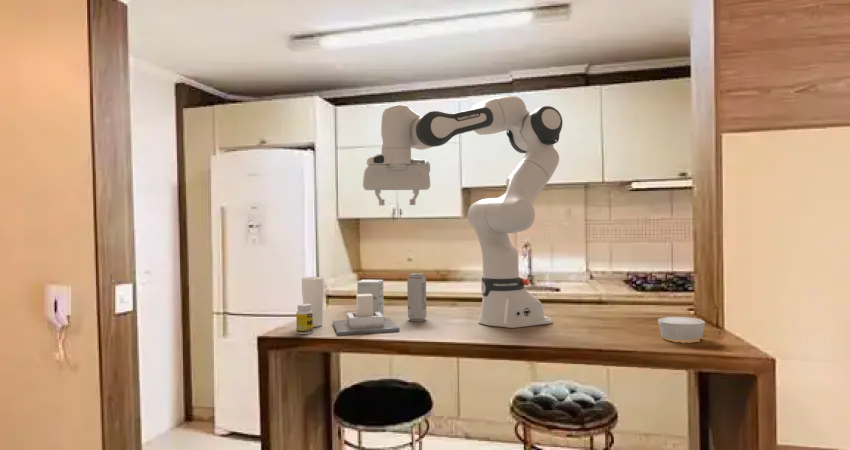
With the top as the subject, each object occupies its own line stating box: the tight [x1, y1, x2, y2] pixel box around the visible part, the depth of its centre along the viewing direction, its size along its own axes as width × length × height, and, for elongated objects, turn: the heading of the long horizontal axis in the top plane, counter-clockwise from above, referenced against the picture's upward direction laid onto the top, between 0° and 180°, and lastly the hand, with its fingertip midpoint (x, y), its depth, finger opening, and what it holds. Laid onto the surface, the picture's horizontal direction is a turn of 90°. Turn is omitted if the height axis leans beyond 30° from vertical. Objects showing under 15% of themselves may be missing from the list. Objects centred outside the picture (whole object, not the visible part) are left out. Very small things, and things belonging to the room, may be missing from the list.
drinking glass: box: [301, 276, 325, 328], centre depth 176 cm, size 7×7×15 cm
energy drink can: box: [406, 272, 427, 322], centre depth 183 cm, size 6×6×15 cm
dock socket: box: [332, 311, 401, 336], centre depth 172 cm, size 18×18×4 cm
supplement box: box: [356, 279, 384, 316], centre depth 188 cm, size 7×7×13 cm
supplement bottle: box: [295, 303, 314, 335], centre depth 166 cm, size 5×5×8 cm
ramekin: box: [657, 316, 706, 340], centre depth 149 cm, size 11×11×5 cm
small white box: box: [355, 293, 373, 317], centre depth 172 cm, size 4×4×9 cm
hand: (397, 205), depth 170 cm, fingers open, 8 cm apart
